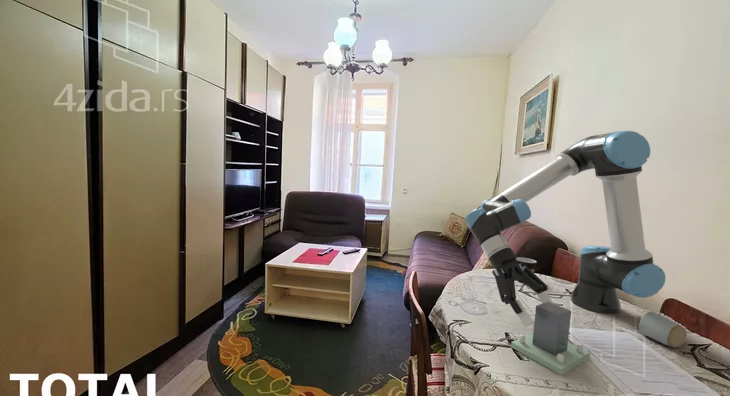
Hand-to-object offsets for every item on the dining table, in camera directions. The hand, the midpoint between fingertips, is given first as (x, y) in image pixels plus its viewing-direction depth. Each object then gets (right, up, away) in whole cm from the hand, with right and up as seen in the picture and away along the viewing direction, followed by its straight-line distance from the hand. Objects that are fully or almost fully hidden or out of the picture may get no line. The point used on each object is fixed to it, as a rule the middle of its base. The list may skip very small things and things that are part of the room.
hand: (543, 319), depth 83 cm
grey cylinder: (+41, -10, +8) cm, 43 cm away
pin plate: (+1, -8, -1) cm, 9 cm away
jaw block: (+1, -7, -1) cm, 7 cm away
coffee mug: (+26, -5, +56) cm, 62 cm away
